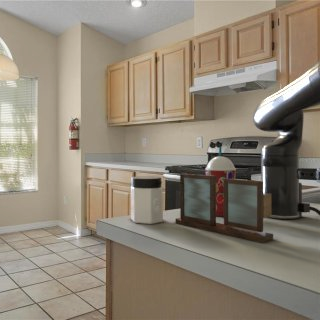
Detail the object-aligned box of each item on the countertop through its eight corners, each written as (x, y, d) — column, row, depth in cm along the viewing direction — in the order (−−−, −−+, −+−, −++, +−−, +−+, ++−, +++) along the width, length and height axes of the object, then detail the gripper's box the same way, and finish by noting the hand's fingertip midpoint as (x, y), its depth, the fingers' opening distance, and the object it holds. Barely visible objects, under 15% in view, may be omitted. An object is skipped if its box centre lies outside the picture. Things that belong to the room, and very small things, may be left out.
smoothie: (242, 216, 95) (242, 146, 94) (217, 218, 93) (217, 147, 92) (223, 211, 103) (223, 146, 102) (199, 212, 101) (199, 147, 100)
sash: (271, 229, 73) (271, 180, 73) (261, 232, 71) (261, 181, 71) (233, 222, 81) (233, 177, 81) (223, 224, 79) (223, 178, 78)
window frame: (273, 239, 71) (273, 178, 71) (262, 242, 69) (262, 179, 68) (186, 220, 90) (186, 172, 90) (175, 223, 88) (174, 173, 88)
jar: (145, 225, 86) (145, 179, 85) (124, 220, 92) (124, 177, 92) (169, 221, 91) (168, 177, 90) (147, 216, 97) (147, 175, 97)
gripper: (429, 154, 56) (313, 154, 71) (405, 156, 49) (281, 155, 63) (428, 198, 56) (312, 189, 71) (404, 206, 49) (281, 194, 64)
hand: (298, 173), depth 67 cm, fingers closed
